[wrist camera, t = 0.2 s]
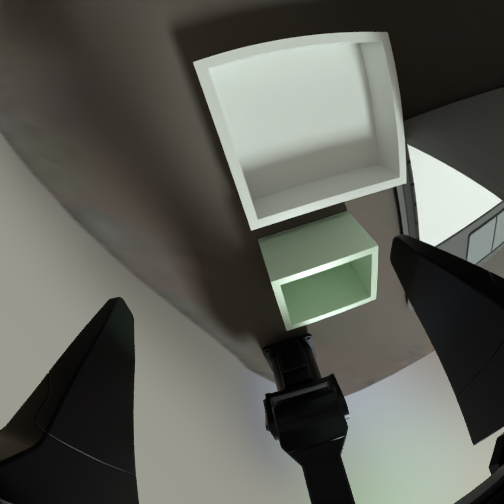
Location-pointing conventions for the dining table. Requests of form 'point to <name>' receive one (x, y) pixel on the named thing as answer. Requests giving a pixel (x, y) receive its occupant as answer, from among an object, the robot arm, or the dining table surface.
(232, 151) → the big crate
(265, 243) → the small crate
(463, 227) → the laptop
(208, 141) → the dining table surface
